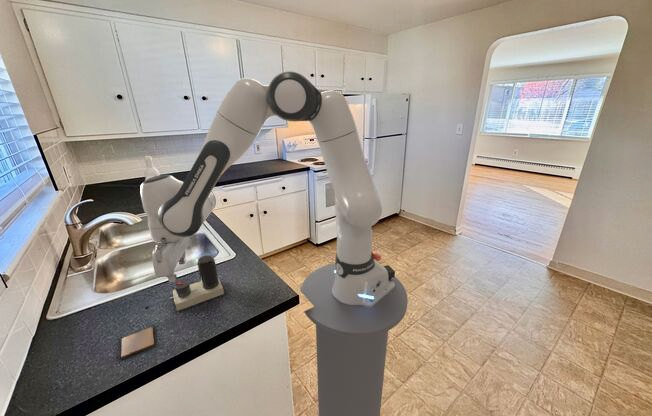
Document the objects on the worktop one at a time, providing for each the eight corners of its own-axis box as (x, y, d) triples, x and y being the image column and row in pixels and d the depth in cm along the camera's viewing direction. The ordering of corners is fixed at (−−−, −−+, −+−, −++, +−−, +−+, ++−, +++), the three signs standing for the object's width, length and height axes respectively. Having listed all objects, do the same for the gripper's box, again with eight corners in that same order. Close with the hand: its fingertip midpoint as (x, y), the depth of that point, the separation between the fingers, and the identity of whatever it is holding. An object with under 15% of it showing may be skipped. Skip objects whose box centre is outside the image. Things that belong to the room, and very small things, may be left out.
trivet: (152, 328, 75) (152, 326, 75) (154, 345, 70) (153, 343, 70) (122, 339, 72) (121, 338, 71) (121, 358, 66) (120, 357, 66)
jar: (216, 278, 93) (212, 252, 89) (220, 285, 88) (215, 259, 85) (200, 283, 90) (195, 257, 86) (204, 291, 86) (198, 265, 82)
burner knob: (193, 290, 86) (191, 280, 85) (185, 298, 83) (183, 288, 81) (182, 288, 87) (180, 279, 86) (174, 296, 84) (171, 286, 82)
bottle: (158, 200, 175) (147, 155, 164) (169, 201, 174) (158, 155, 163) (149, 205, 168) (136, 157, 157) (160, 205, 167) (147, 157, 156)
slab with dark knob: (218, 281, 95) (216, 275, 94) (224, 294, 88) (223, 287, 87) (170, 297, 87) (168, 291, 86) (173, 312, 81) (171, 305, 80)
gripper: (168, 247, 68) (179, 291, 73) (189, 216, 87) (197, 253, 92) (140, 250, 67) (153, 295, 72) (168, 218, 86) (177, 255, 91)
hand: (178, 271), depth 82 cm, fingers open, 8 cm apart
